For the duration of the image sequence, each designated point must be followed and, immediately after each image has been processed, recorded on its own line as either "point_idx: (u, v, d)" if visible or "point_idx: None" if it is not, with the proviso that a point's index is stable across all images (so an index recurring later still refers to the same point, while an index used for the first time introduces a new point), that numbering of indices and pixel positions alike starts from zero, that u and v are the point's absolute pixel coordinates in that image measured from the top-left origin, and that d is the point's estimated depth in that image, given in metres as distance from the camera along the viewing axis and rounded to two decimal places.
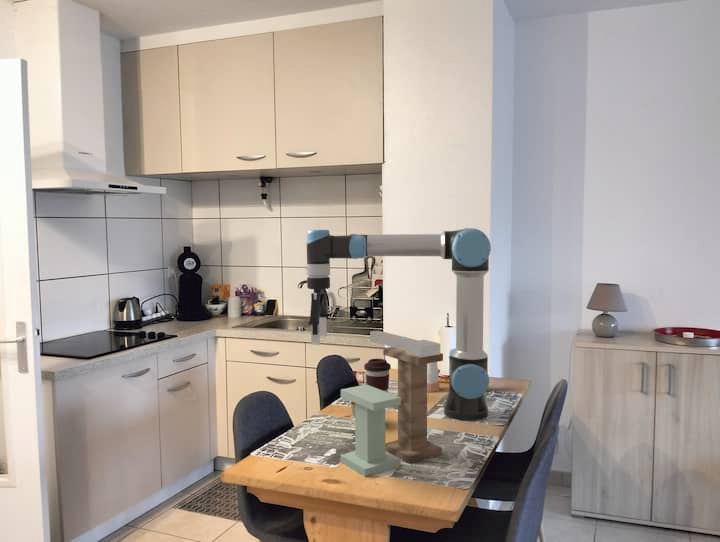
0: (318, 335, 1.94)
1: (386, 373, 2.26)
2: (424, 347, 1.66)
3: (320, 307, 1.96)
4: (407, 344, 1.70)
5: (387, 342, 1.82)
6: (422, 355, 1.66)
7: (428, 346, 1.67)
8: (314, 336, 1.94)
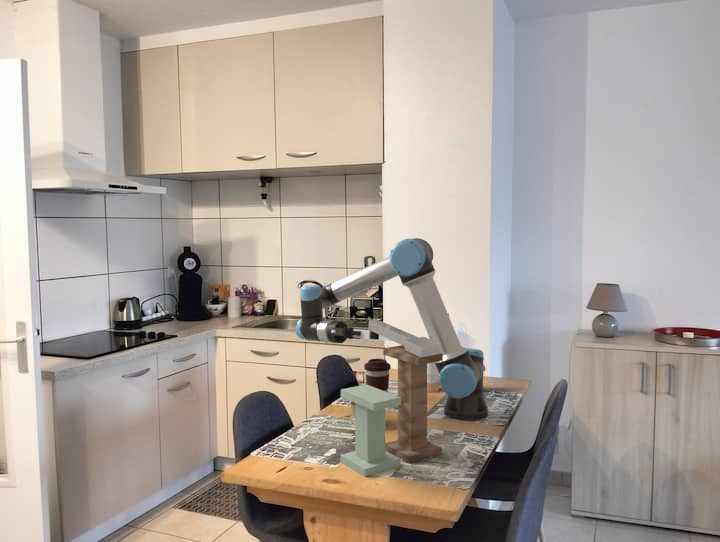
0: (361, 330, 1.90)
1: (386, 373, 2.26)
2: (425, 347, 1.66)
3: (347, 328, 1.98)
4: (407, 342, 1.70)
5: (386, 335, 1.81)
6: (422, 355, 1.66)
7: (429, 346, 1.67)
8: (362, 334, 1.90)
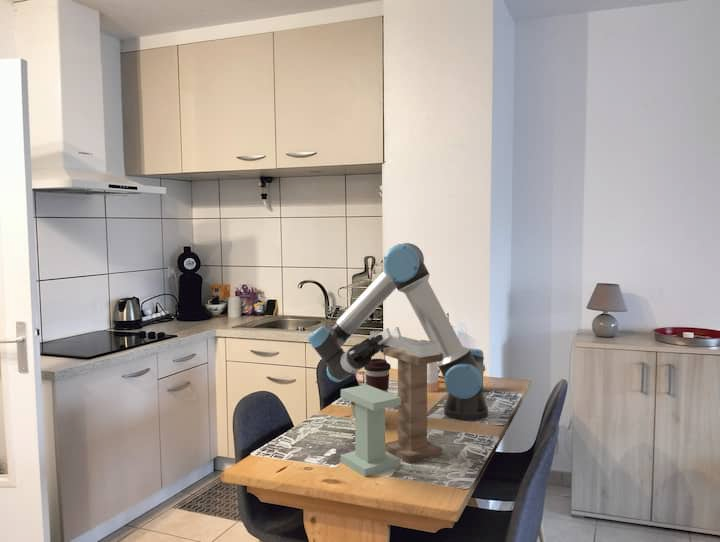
0: (381, 333, 1.82)
1: (386, 373, 2.26)
2: (424, 347, 1.66)
3: None
4: (407, 344, 1.70)
5: (387, 342, 1.82)
6: (422, 355, 1.66)
7: (428, 346, 1.67)
8: (383, 336, 1.82)
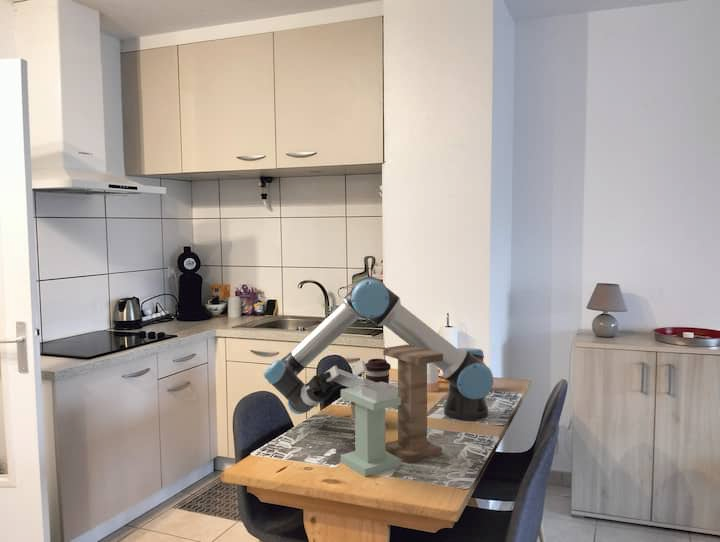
0: (330, 370, 1.74)
1: (386, 373, 2.26)
2: (380, 392, 1.59)
3: None
4: (363, 387, 1.63)
5: (345, 383, 1.74)
6: (378, 400, 1.59)
7: (384, 390, 1.60)
8: (331, 374, 1.73)
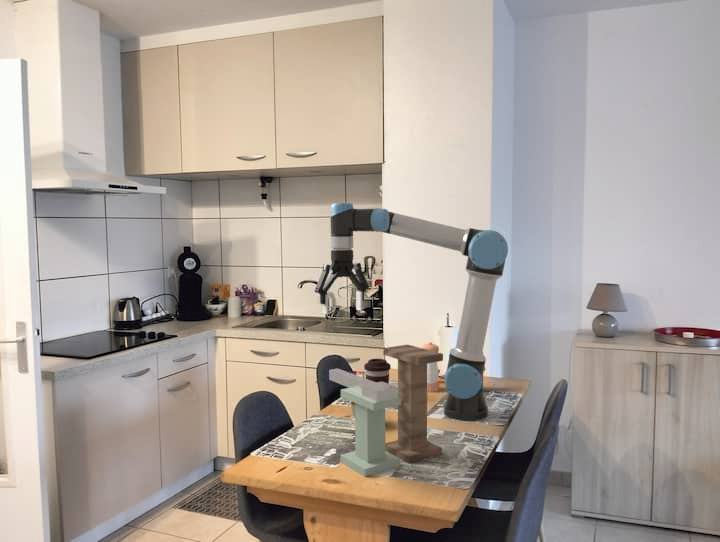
0: (325, 305, 2.00)
1: (386, 373, 2.26)
2: (380, 392, 1.59)
3: (334, 279, 2.01)
4: (363, 387, 1.63)
5: (345, 383, 1.74)
6: (378, 400, 1.59)
7: (384, 390, 1.60)
8: (323, 305, 2.01)
